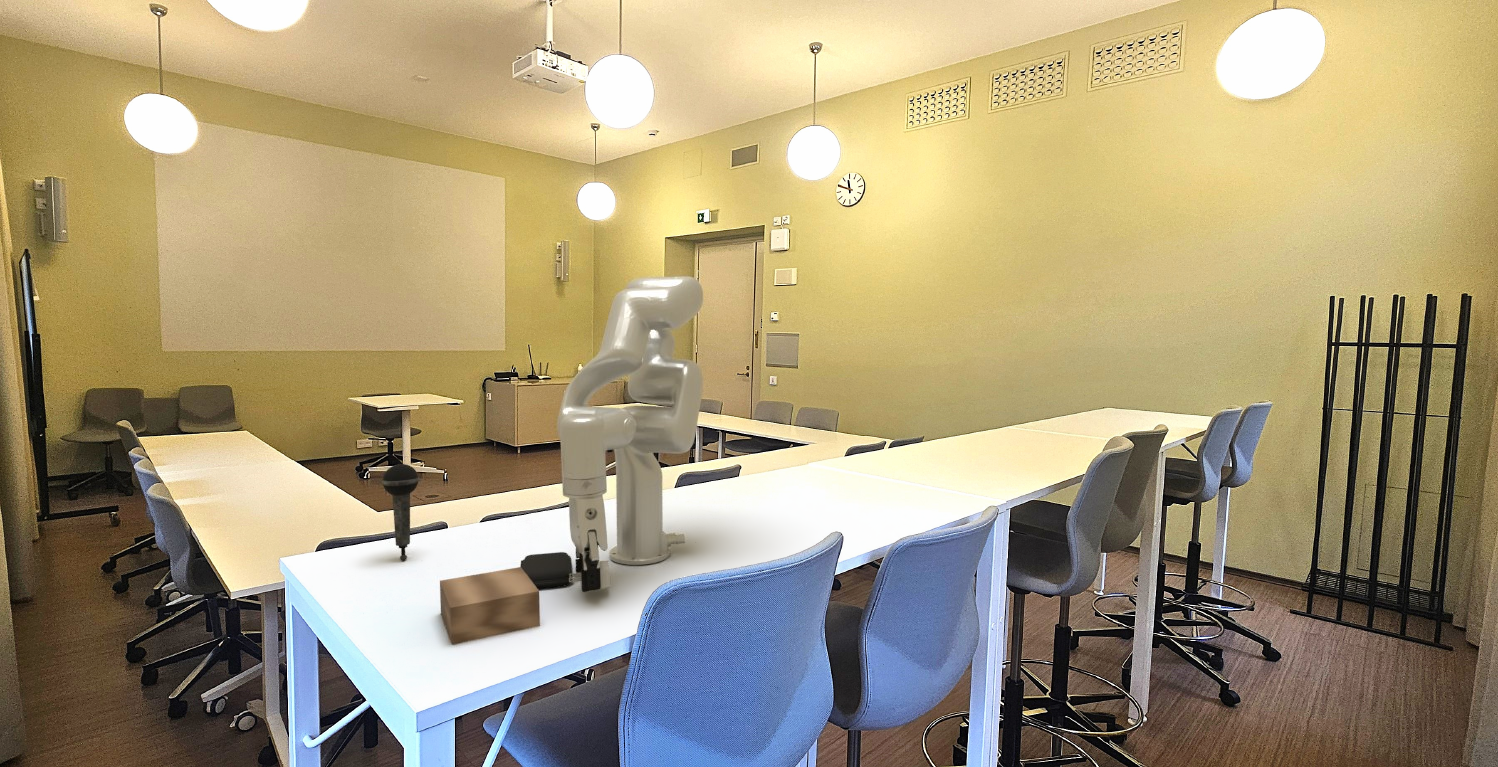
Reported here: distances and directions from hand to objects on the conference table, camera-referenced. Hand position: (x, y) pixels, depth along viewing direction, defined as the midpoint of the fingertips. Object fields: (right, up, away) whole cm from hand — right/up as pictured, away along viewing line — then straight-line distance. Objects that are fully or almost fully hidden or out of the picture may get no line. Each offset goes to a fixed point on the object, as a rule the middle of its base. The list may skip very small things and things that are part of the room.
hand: (588, 583), depth 120 cm
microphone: (-42, -1, +18) cm, 46 cm away
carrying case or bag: (-11, -2, +9) cm, 15 cm away
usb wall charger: (0, -1, 0) cm, 1 cm away
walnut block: (-14, -3, -10) cm, 17 cm away
